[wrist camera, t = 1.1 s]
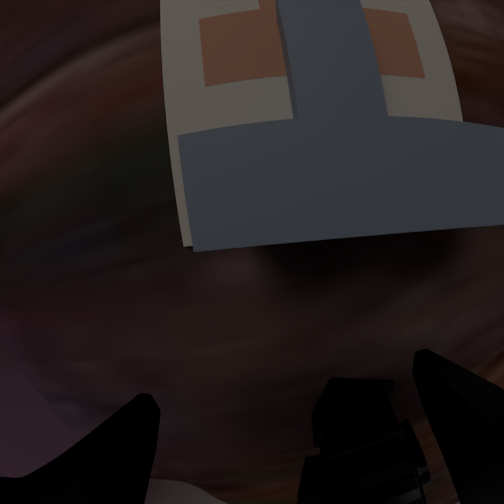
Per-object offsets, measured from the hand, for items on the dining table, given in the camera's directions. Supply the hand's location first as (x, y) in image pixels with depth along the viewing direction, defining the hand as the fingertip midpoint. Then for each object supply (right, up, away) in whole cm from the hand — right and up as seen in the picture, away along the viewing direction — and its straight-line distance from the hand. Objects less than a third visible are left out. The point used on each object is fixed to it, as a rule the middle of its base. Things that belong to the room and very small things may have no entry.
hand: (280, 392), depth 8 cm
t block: (+4, +14, +9) cm, 17 cm away
